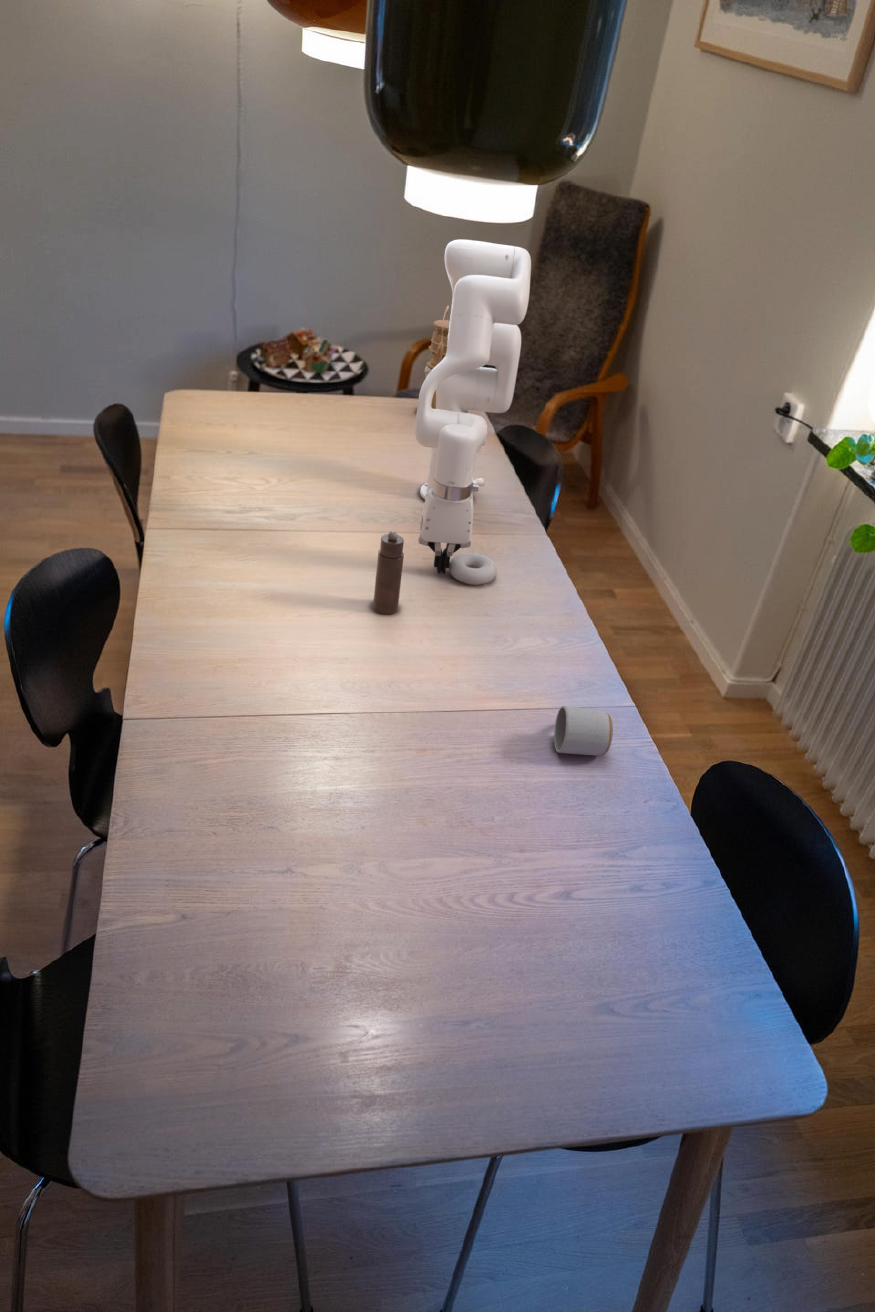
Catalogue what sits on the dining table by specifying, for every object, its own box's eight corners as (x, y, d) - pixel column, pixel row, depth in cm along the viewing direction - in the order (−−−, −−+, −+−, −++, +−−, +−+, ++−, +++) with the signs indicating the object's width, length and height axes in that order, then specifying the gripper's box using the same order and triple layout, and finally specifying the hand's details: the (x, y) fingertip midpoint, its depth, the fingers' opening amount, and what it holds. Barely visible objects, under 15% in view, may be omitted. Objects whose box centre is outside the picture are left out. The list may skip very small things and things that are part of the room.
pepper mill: (389, 599, 196) (397, 523, 186) (402, 611, 192) (411, 535, 183) (368, 604, 193) (375, 528, 184) (381, 616, 190) (388, 539, 181)
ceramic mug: (608, 765, 160) (618, 727, 156) (558, 762, 160) (567, 724, 155) (595, 725, 169) (605, 688, 165) (548, 722, 168) (556, 685, 164)
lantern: (413, 403, 289) (424, 296, 272) (448, 405, 291) (462, 299, 274) (420, 422, 276) (432, 312, 260) (457, 424, 278) (471, 315, 262)
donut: (494, 591, 203) (496, 567, 212) (496, 576, 201) (498, 553, 210) (445, 584, 203) (449, 560, 212) (447, 569, 201) (451, 546, 210)
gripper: (487, 483, 200) (474, 564, 210) (412, 477, 198) (403, 559, 208) (491, 499, 194) (478, 581, 204) (415, 493, 192) (405, 576, 202)
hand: (440, 570), depth 206 cm, fingers closed
